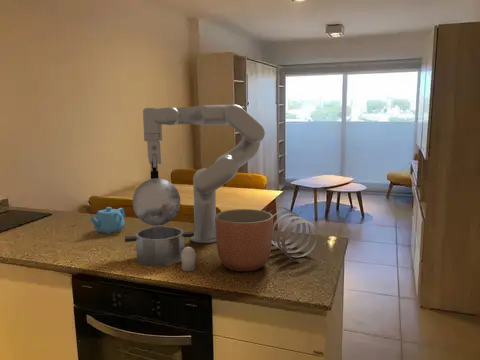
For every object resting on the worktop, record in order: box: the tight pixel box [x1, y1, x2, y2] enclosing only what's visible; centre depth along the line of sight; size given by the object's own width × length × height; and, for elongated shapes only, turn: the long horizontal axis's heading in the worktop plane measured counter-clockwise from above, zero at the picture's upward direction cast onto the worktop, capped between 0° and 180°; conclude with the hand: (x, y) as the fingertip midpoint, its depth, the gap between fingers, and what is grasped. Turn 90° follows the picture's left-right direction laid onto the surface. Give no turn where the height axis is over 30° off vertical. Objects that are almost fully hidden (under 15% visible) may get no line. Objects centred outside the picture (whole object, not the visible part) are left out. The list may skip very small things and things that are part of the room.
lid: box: [132, 177, 181, 226], centre depth 174 cm, size 19×19×3 cm
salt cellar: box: [181, 246, 196, 272], centre depth 153 cm, size 5×5×8 cm
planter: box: [215, 208, 274, 272], centre depth 154 cm, size 21×21×19 cm
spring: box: [270, 206, 318, 263], centre depth 172 cm, size 16×16×30 cm
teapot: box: [89, 206, 126, 236], centre depth 200 cm, size 20×17×12 cm
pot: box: [124, 225, 195, 267], centre depth 165 cm, size 26×20×10 cm
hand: (154, 180), depth 181 cm, fingers closed
